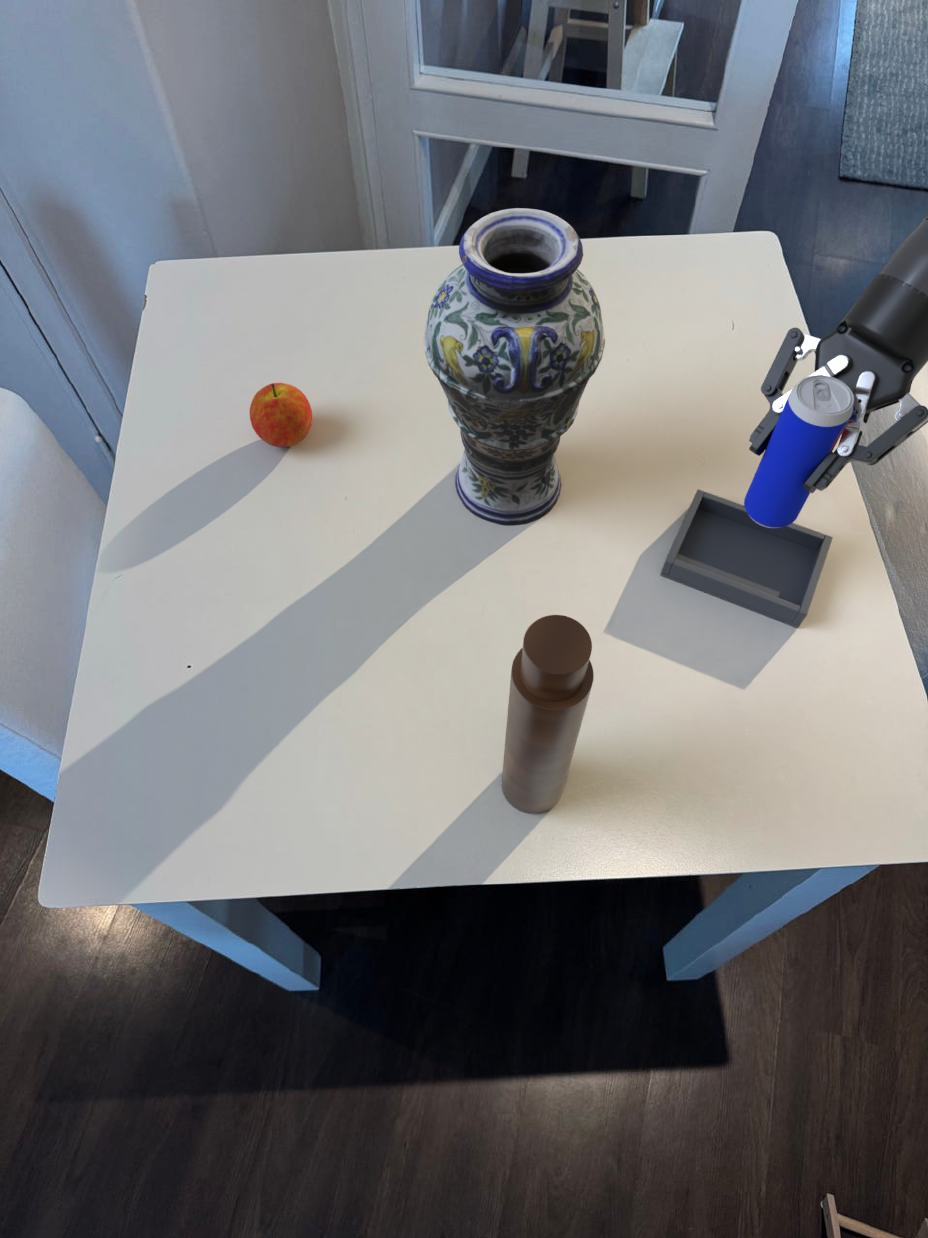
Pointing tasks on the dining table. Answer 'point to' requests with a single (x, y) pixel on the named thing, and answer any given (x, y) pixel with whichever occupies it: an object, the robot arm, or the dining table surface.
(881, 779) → the dining table surface
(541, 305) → the vase
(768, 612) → the dark gray tray
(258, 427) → the fruit
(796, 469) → the beverage can
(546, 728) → the bottle
